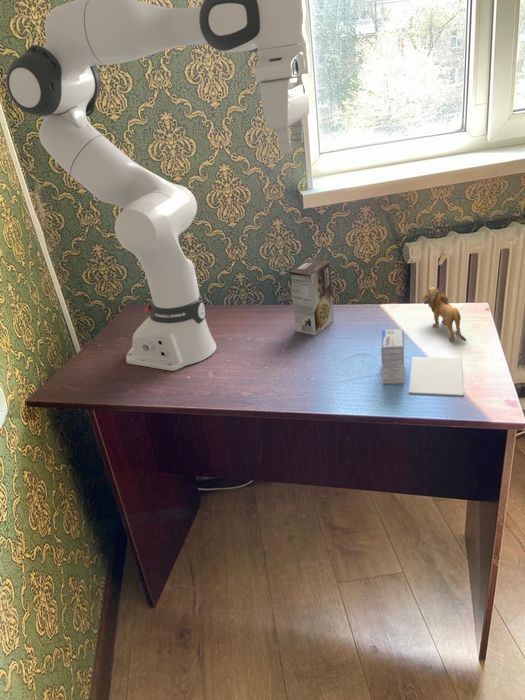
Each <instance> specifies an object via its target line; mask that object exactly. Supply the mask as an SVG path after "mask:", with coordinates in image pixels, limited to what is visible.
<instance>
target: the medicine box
mask: <svg viewBox="0 0 525 700" xmlns="http://www.w3.org/2000/svg"><path fill="white" fill-rule="evenodd" d="M380 350H381V351H380V352H381V353H380V356H381V359H380V360H381V378H382V381H381V382H382V384H386V385H387V384H388V385H389V384H391V385H393V384H394V385H396V384H397V385H398V384H402V385H403V384H405V339H404V330H403V329H399V328H398V329H395V328H394V329H391V328H390V329H382V331H381V349H380Z"/></svg>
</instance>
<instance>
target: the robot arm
mask: <svg viewBox="0 0 525 700" xmlns="http://www.w3.org/2000/svg"><path fill="white" fill-rule="evenodd" d="M305 19H306V4H305V0H203V2H202V4H201V6H191V7H168V6H167V7H166V6H162V5H158V4H153V3H149V2H145V1H141V0H72V1H69V2H66V3H62V4H61V5H58V6H56V7H54V8H52V9H51V10H50V11H49V12H48V14H47V16H46V18H45V22H44V33H45V43H44V45H43V46H41V45H37V44H32V45H31V46H30V47H28V48H27V50H26V51H25V52H24V53H23V54H22V55H21V56H19V57H18V58H16V59H15V60H14V61H13V62H12V63H11V64H10V65H9V66H8V68H7V71H6V75H5V84H6V89H7V93H8V95H9V97H10V99H11V100H12V102H13V104H14V105H15V106H16V107H17V108H18V109H20V111H22V112H24V113H27V114H29V115H33V116H37V117H43V120H42V123H41V125H40V127H39V131H38V137H39V141H40V144H41V146H42V147H43V148H44V149H45V151H46V152H47V153H48V154H49V155H50V156H51V158H52V159H54V161H55V162H56V163H57V164H58V165H59V166H60V167H61V168H62V169H63V170H64V171H65V172H66V173H68V175H69V176H71V177H72V178H73V179H74V180H76V181H77V182H78V183H79V184H80V185H81V186H82V187H83V188H84V189H86V190H87V191H88V192H90V194H92V195H93V196H95V198H97V200H99V201H101V202H103V203H106V204H111V205H114V206H117V207H119V208H122V210H121V211H120V213H119V214H118V215H117V217H116V219H115V222H114V232H115V236H116V238H117V240H118V242H119V244H120V245H121V246H122V247H123V249H125V250H126V251H128V252H129V253H130V254H131V253H132V254H133V255H134V256H135V257H136V259H137V260H138V263H139V264H140V265H141V267H142V269H143V272H144V274H145V278H146V280H147V284H148V289H149V292H150V296H151V299H152V300H151V301H150V302H148V304H147V306H146V307H145V308H144V309H143V310H144V311H145V312H144V313H145V314H147V313H148V312H149V316H148V317H147V318H146V319H145V320H144V321H143V323H141V324H140V326H139V327H138V328H137V329H136V330H135V331H134V333H133V336H132V346H131V348H130V349H129V350H128V351H127V353H126V356H125V361H126V364H129V365H136V366H142V367H148V368H153V369H159V370H166V371H177V370H179V369H180V370H181V369H182V368H183V367H185V366H188V365H193V364H195V363H199V362H202V361H204V360H206V359H207V358H209V357H210V356H212V355H213V354H214V352H215V351H216V350H217V343H216V341H215V340H214V338H213V336H212V334H211V331H210V329H209V326H208V322H207V320H206V310H205V304H204V300H203V297H202V293H201V292H200V289H199V285H198V279H197V274H196V270H195V269H196V268H195V265H194V263H193V261H191V259H189V258H188V257H186V256H185V253H184V251H183V249H182V248H181V247H182V246H181V245H180V241H179V236H180V235H181V234H182V233H183V232H184V231H186V230H187V229H188V228H189V227H190V225H192V224H193V221H194V219H195V218H196V215H197V212H198V203H197V200H196V197H195V196H194V194H193V193H192V192H191V191H190V190H189V189H188V188H187V187H186V186H184V185H180V184H176V183H174V182H171V181H168V180H166V179H165V178H163V177H161V176H160V175H157V174H155V173H154V172H152V171H151V170H148V169H147V168H146V167H144V166H141V165H140V164H138V163H137V162H136V161H135V160H133V159H132V158H130V157H129V156H128V155H126V154H125V153H124V152H123V151H122V150H121V149H120V148H118V147H117V146H116V145H115V144H114V143H112V142H111V141H110V139H108V138H107V137H105V135H103V134H102V133H101V132H100V131H99V130H97V129H96V128H95V127H94V126H93V125H92V124H91V123H90V121H89V120H88V118H87V117H90V116H91V115H92V114H93V113H94V112H95V110H96V109H95V108H96V102H97V101H98V98H99V96H100V93H101V88H102V77H101V74H100V71H99V68H98V67H97V66H107V65H108V66H110V65H111V66H112V65H119V64H123V63H129V62H133V61H136V60H139V59H142V58H145V57H148V56H151V55H153V54H158V53H161V52H163V51H166V50H170V49H173V48H174V49H175V48H179V47H184V46H185V47H186V46H198V45H209V46H210V47H212V48H213V49H214V50H217V51H220V52H223V53H242V52H245V53H257V56H258V59H257V64H256V66H255V68H254V77H255V81H256V83H259V94H260V100H261V107H262V113H263V118H264V121H265V122H264V123H265V124H266V127H267V128H268V130H275V132H276V137H277V139H278V143H279V147H280V153H281V154H289V153H291V152H292V150H293V146H292V145H301V144H302V143H303V142H304V135H303V132H304V117H306V116H308V115H309V114H310V101H309V94H308V93H309V91H308V83H307V79H306V76H305V75H307V74H310V73H311V69H310V68H311V67H310V66H311V65H310V54H309V43H308V42H309V41H308V38H307V35H306V30H305ZM291 125H292V135H290V132H291V131H290V130H291V129H290V126H291ZM291 139H292V141H291Z"/></svg>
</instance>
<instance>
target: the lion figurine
mask: <svg viewBox="0 0 525 700" xmlns="http://www.w3.org/2000/svg"><path fill="white" fill-rule="evenodd" d="M421 301H422V302H423V305H427V304H428V307H429V308H430V309H431V312H432V313H433V319H434V323H433V324H432V327H433V328H438V327H439V325H440V321H439V318H440V317H441V319H442V320H441V324H442V323H443V324H442V325H446V327H447V331H448V333H449V335H450V337H449V339H448V341H450V342H455V338H456V335H458V337H459V338H460V340H461V341H463V342H467V339H466V337H464V336H463V335H462V334H461V333H462V332H461V327H460V325H461V313H460V311H459V309H458V308H456V307H454V306H452V305H451V304H450V303H449V299H448V297H447V295H446V294H445V293H444V292H443V291H442V290H441V289H439V288H437V287H435V286H431V287H428V291H427V292H426V293H425V294H424V295H423V296H421ZM453 323H454V324H453ZM453 325H455V329H456V330H455V331H454V329H453ZM455 334H456V335H455Z"/></svg>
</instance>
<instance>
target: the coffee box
mask: <svg viewBox="0 0 525 700" xmlns="http://www.w3.org/2000/svg"><path fill="white" fill-rule="evenodd" d="M289 280H290V290H291V299H292V309H293V317H294V325H295V332H298V333H302V334H307V335H311V336H312V335H313V336H317V335H318V334H320V333H321V332H323V330H324V329H326V328H327V327H328V326H329V325H330V324H331V323H333V322H334V320H335V317H334V307H333V306H334V304H333V291H332V290H333V289H332V280H331V268H330V262H329V261H323V260H318V259H307V260H305V261H303V262H301V264H299V265H297V266H296V267H294V268H293V269H291V270H290V271H289Z"/></svg>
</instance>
